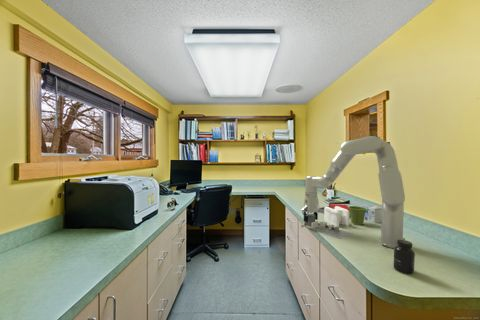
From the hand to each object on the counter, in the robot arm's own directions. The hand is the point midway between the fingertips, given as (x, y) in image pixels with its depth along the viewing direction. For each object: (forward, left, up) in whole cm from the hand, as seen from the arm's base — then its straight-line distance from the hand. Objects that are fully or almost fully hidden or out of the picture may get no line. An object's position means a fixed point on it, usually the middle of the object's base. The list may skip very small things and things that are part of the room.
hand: (310, 220), depth 137 cm
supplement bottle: (-55, +10, -5) cm, 56 cm away
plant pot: (-12, -37, -5) cm, 39 cm away
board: (-10, -3, -5) cm, 11 cm away
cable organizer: (-6, -21, -5) cm, 22 cm away
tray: (+11, -54, -5) cm, 55 cm away
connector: (0, 0, -3) cm, 3 cm away
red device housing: (+11, -54, -5) cm, 55 cm away
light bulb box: (-14, -54, -5) cm, 55 cm away
